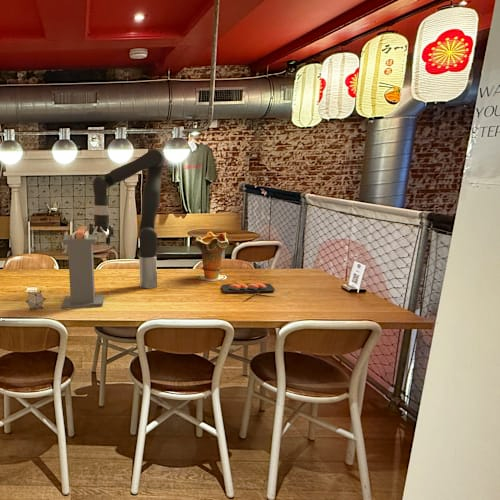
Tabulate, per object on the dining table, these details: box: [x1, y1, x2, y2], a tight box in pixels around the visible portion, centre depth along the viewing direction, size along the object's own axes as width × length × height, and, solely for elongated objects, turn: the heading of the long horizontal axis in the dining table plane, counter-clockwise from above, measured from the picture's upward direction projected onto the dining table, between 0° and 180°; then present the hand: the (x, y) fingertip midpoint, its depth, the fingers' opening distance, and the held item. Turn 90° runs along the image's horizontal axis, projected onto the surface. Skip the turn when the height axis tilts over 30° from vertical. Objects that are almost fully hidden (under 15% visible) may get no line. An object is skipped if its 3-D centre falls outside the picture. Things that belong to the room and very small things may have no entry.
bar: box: [76, 225, 88, 239], centre depth 201 cm, size 22×3×3 cm, turn 17°
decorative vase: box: [195, 231, 230, 282], centre depth 252 cm, size 21×23×28 cm
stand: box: [60, 230, 105, 310], centre depth 198 cm, size 18×17×34 cm
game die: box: [24, 290, 47, 311], centre depth 190 cm, size 9×8×10 cm
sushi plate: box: [220, 282, 275, 303], centre depth 223 cm, size 29×30×4 cm
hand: (101, 243), depth 225 cm, fingers open, 8 cm apart
